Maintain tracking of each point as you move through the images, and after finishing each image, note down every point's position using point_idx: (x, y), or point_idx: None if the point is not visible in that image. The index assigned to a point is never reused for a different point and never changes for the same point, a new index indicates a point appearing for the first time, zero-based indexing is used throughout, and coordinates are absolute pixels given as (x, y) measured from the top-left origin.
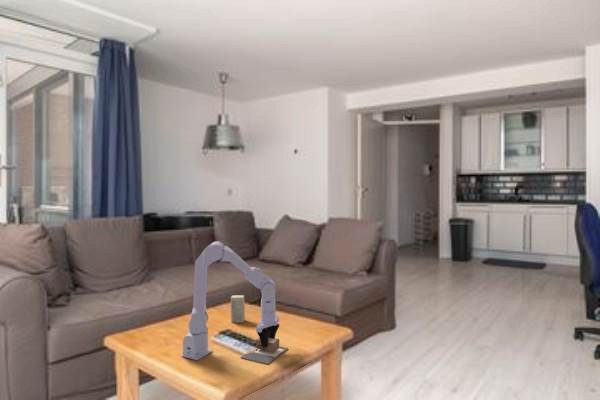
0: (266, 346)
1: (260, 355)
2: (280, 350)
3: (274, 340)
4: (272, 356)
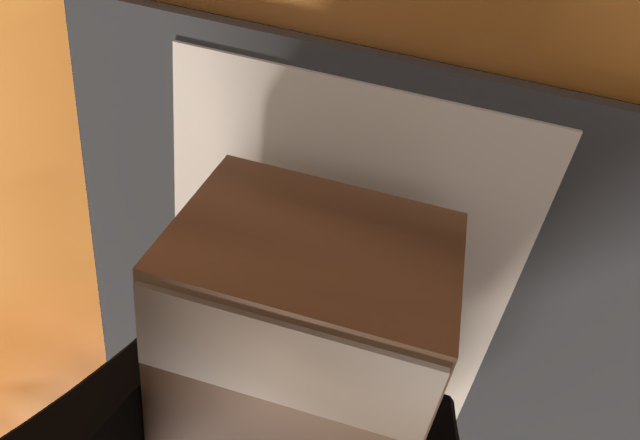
0: (453, 412)
1: (542, 370)
2: (236, 110)
3: (266, 366)
4: (556, 187)
